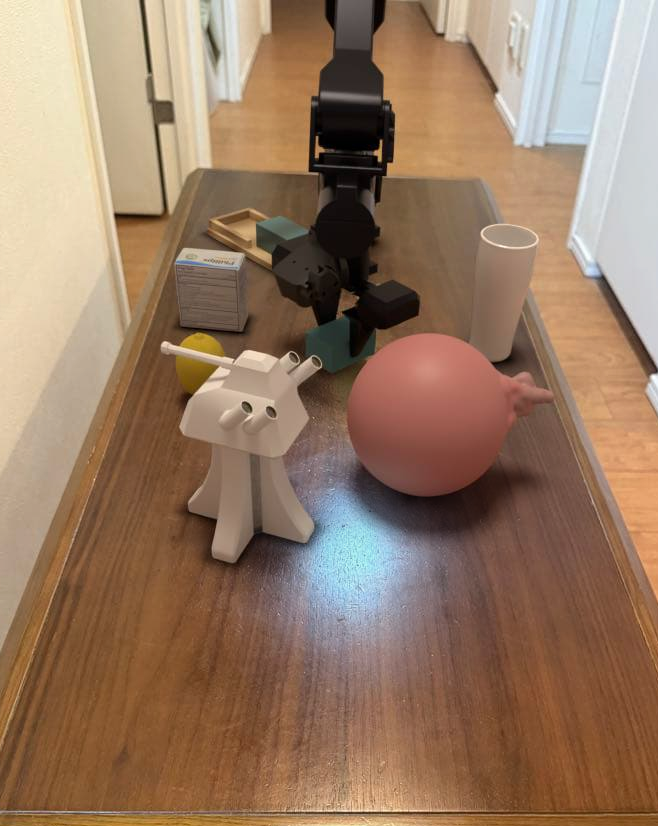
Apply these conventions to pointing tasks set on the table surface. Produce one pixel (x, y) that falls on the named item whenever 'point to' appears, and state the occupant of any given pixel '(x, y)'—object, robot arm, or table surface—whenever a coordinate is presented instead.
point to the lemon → (197, 362)
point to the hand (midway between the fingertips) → (340, 347)
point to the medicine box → (212, 289)
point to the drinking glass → (500, 287)
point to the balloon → (434, 413)
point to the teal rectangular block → (335, 345)
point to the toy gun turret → (248, 446)
